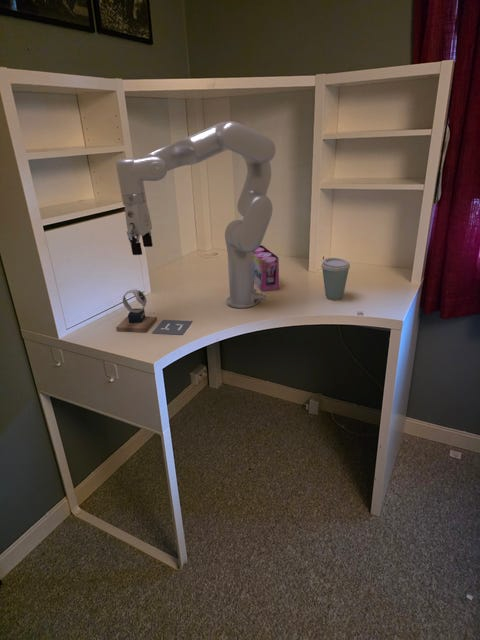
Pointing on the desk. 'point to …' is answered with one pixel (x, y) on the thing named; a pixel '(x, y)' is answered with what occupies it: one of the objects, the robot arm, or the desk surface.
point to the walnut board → (137, 325)
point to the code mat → (172, 327)
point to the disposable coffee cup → (335, 277)
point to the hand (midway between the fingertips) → (143, 250)
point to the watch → (135, 314)
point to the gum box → (266, 269)
